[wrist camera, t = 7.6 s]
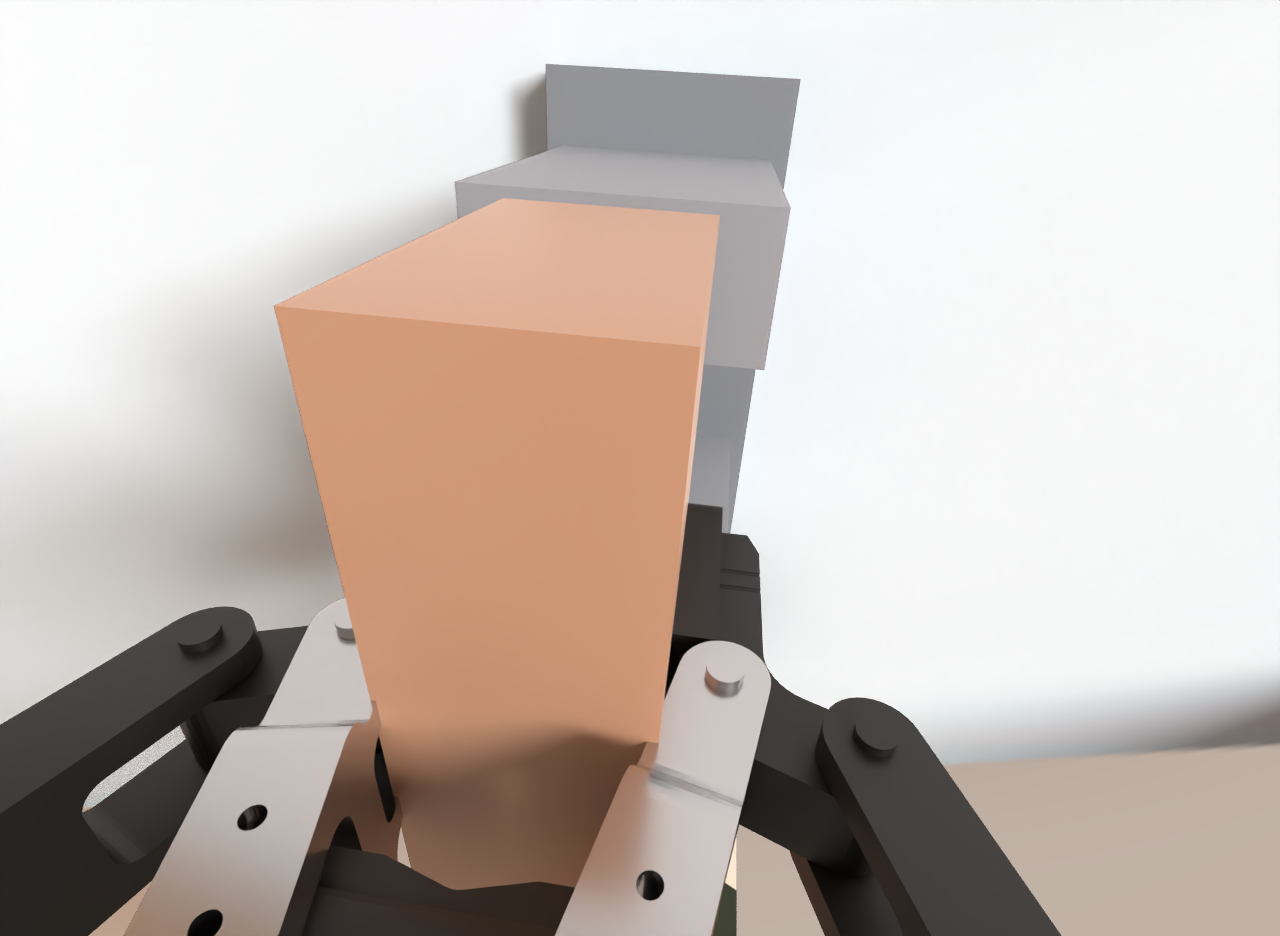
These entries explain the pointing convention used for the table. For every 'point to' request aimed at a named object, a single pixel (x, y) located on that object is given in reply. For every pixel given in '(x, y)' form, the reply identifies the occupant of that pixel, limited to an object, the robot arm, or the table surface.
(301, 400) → the rectangular block
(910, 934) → the robot arm
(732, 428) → the stand
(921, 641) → the table surface
